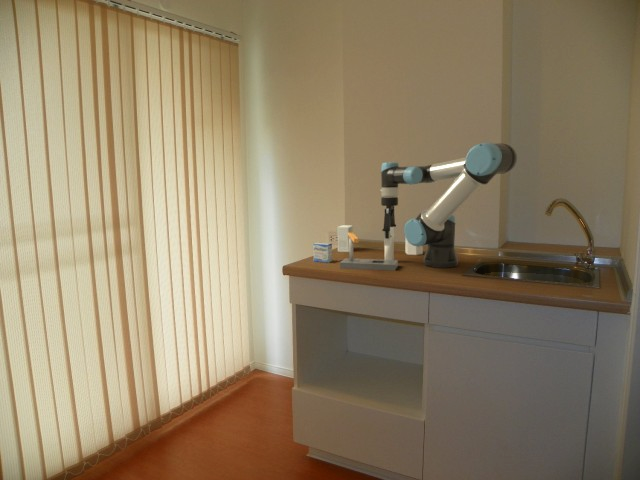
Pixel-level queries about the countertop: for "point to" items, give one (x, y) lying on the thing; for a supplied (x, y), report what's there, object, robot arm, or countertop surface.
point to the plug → (389, 250)
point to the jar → (412, 249)
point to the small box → (343, 237)
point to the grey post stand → (367, 262)
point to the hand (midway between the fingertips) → (389, 243)
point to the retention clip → (353, 237)
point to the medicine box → (322, 252)
